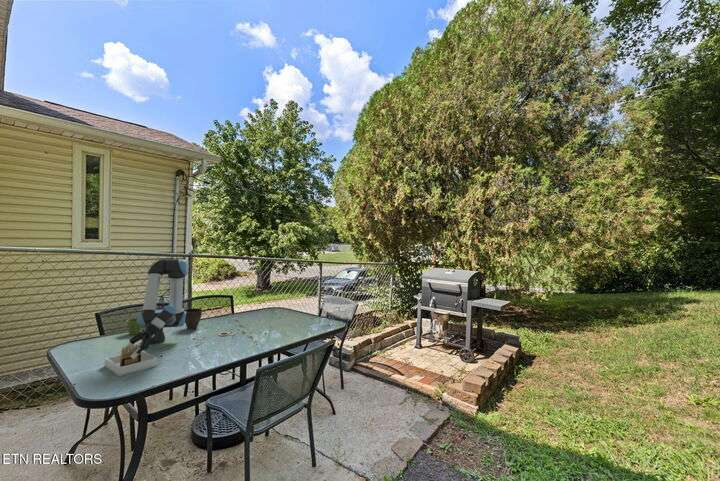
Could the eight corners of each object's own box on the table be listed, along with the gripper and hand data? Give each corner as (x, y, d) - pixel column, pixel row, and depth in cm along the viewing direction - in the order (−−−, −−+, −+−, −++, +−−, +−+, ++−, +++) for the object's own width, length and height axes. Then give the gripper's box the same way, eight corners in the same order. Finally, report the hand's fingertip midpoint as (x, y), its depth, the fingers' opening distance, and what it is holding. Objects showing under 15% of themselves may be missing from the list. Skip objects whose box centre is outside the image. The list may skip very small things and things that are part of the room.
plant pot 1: (136, 336, 250) (137, 322, 250) (121, 335, 250) (122, 321, 250) (147, 332, 261) (147, 318, 261) (132, 331, 262) (133, 317, 262)
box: (104, 366, 192) (104, 358, 192) (141, 357, 209) (141, 349, 209) (119, 376, 180) (119, 367, 180) (156, 366, 197) (157, 358, 197)
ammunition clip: (120, 367, 190) (122, 347, 190) (119, 366, 191) (120, 347, 191) (141, 362, 198) (142, 343, 199) (139, 361, 200) (140, 342, 200)
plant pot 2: (178, 329, 272) (179, 311, 272) (190, 325, 287) (191, 307, 287) (193, 331, 270) (194, 312, 270) (205, 326, 285) (206, 309, 285)
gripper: (169, 333, 201) (141, 363, 188) (150, 325, 214) (123, 353, 202) (160, 326, 196) (131, 357, 184) (142, 319, 210) (114, 347, 197)
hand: (127, 355), depth 193 cm, fingers open, 13 cm apart
